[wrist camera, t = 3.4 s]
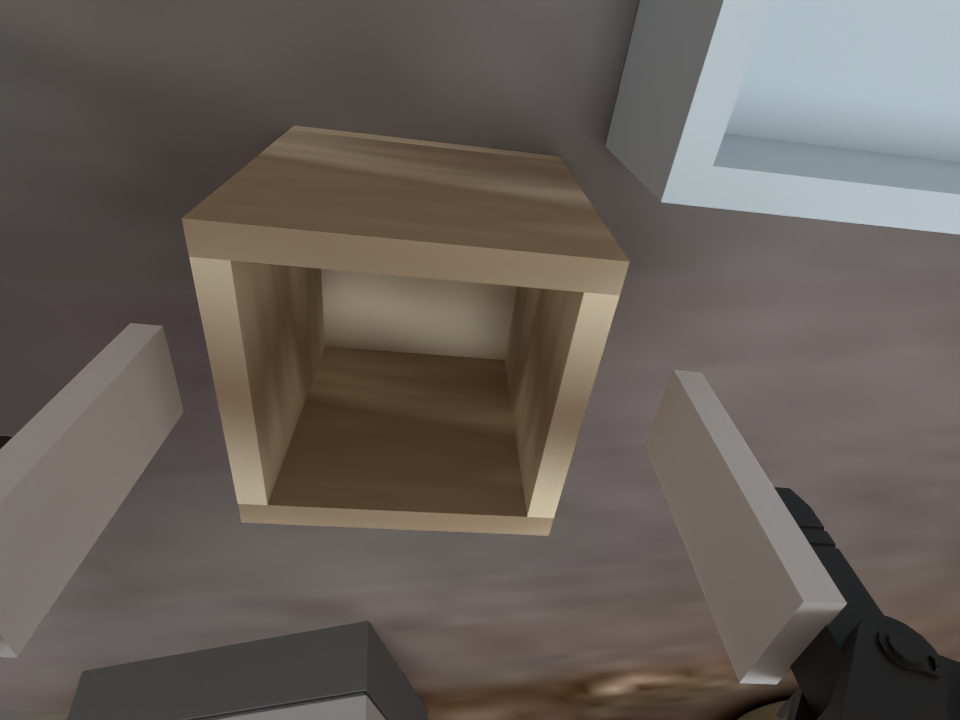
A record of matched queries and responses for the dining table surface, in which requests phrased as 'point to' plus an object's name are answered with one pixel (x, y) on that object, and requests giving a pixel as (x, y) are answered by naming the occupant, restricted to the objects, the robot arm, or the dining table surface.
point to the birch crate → (402, 330)
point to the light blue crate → (796, 108)
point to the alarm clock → (258, 682)
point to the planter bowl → (765, 712)
